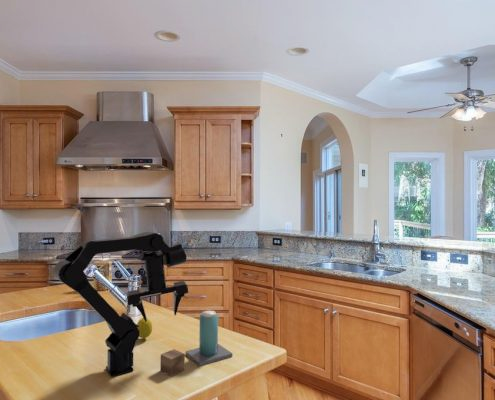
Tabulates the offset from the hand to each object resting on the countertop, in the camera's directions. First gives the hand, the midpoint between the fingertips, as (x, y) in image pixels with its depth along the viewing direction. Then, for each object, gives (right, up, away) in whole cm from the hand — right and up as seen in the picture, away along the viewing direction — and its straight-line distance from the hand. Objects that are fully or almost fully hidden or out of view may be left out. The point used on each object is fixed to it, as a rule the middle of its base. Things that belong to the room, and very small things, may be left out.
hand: (160, 318), depth 115 cm
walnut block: (+6, -13, -9) cm, 16 cm away
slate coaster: (+15, -13, +2) cm, 20 cm away
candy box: (-54, -12, +86) cm, 102 cm away
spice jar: (+15, -12, +2) cm, 19 cm away
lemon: (-10, -13, +15) cm, 22 cm away
